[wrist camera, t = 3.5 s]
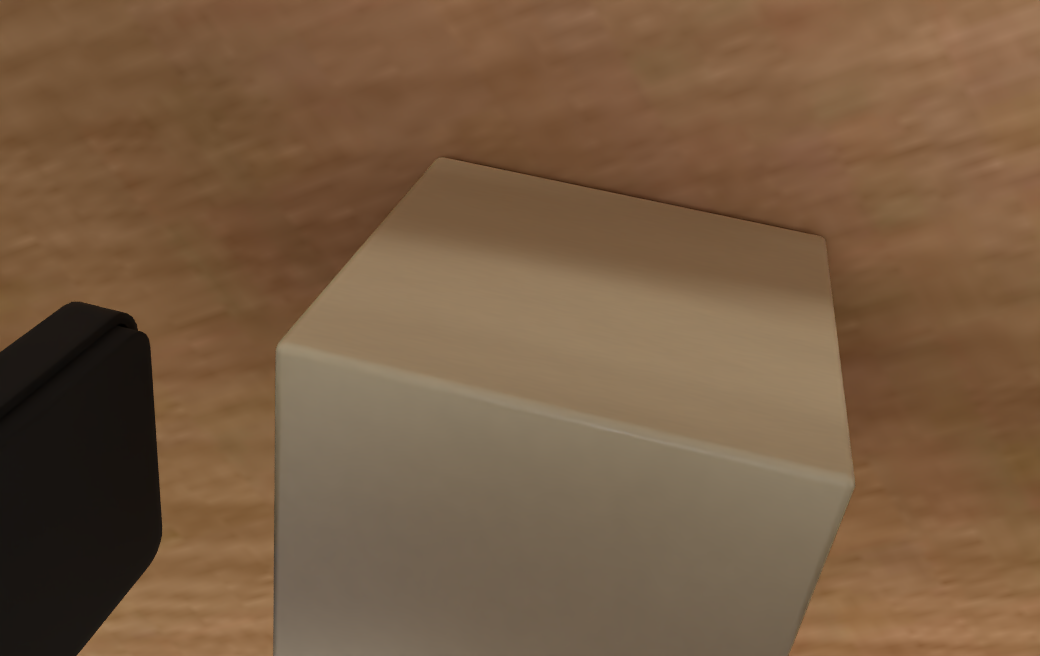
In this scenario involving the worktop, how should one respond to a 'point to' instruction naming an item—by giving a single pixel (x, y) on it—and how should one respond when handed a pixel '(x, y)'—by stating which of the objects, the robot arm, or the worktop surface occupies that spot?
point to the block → (558, 431)
